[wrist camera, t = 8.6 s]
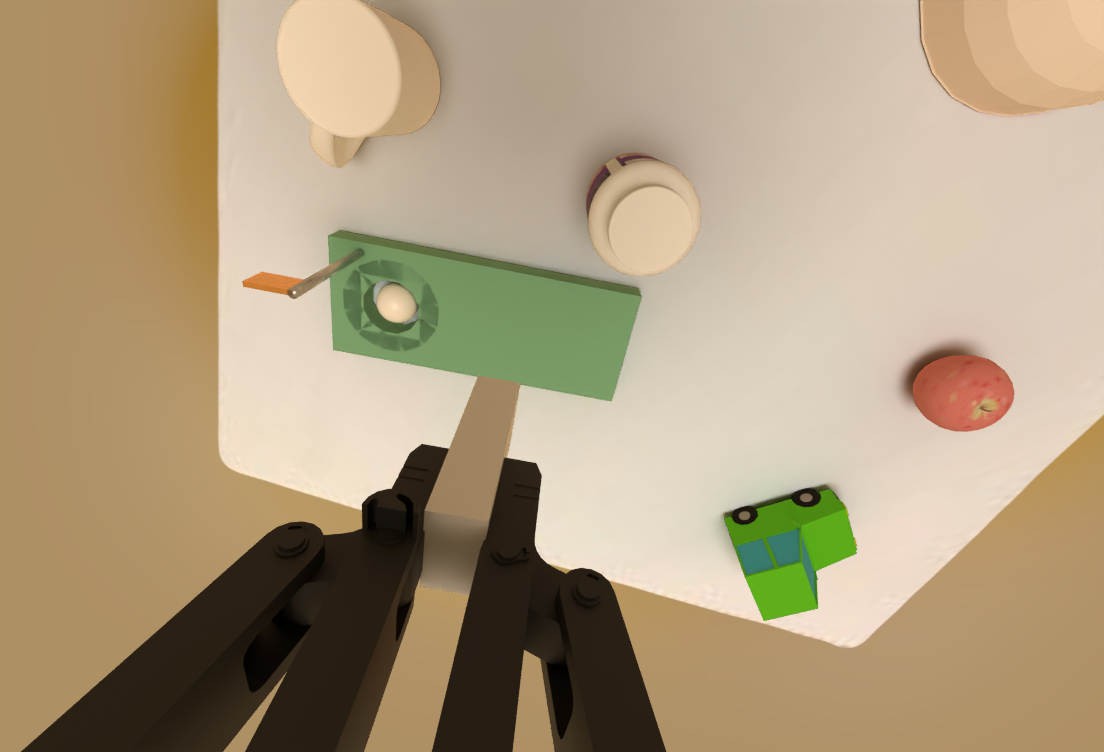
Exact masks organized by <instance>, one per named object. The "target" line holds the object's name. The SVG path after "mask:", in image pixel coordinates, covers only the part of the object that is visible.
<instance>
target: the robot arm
mask: <svg viewBox="0 0 1104 752" xmlns="http://www.w3.org/2000/svg"><path fill="white" fill-rule="evenodd" d="M519 388H520V383H518V382H512V381H507V380H501V379H496V378H490V377H485V376H479V375H478V378H477V380H476V383H475V386H474V388H473V391H472V393H471V396H470V398H469V401H468V403H467V406H466V408H465V411H464V413H463V416H462V418H461V421H460V423H459V426H458V428H457V431H456V433H455V436H454V438H453V441H452V443H451V446H450V448H449V449H447V448H442V447H436V446H430V445H425V444H421V445H420V446H419V447H417V448H416V449H415V450H414V451H412V452H411V453H410V454H409V456H408V458H407V460H406V462H405V464H404V467H403V468H402V470H401V472H400V474H399V476H398V478H397V479H396V481H395V483H394V485H393V487H392V489H386V490H382V491H378V492H376V493H374V494H372V495H371V496H369V497H368V498H367V499H366V500H365V501H364V502H363V503H362V529H359V530H357V531H354V532H350V533H344V534H333V535H323V533H322V531H321V529H320V528H318V527H317V526H315V525H314V524H312V523H307V522H291V523H287V524H285V525H282V526H279V527H277V528H275V529H274V530H272V531H271V532H269V533H268V534H266V535H265V536H264V537H263V538H262V539H261V540H260V541H259V542H257V543H256V544H255V545H254V546H253V547H252V548H251V549H249V550H248V552H246V553H245V554H244V555H243V556H242V557H240V558H239V559H238V560H237V561H236V562H235V563H234V564H233V565H231V566H230V567H229V568H228V569H227V570H226V571H225V572H224V573H222V574H221V575H220V576H219V577H218V578H217V579H216V580H214V581H213V582H212V583H211V584H210V585H209V586H208V587H207V588H206V589H204V590H203V591H202V592H201V593H200V594H199V595H198V596H196V597H195V598H194V599H193V600H192V601H191V602H190V603H188V604H187V605H186V606H185V607H184V608H183V609H182V610H181V611H179V613H177V614H176V615H175V616H174V617H173V618H172V619H171V620H169V621H168V622H167V623H166V624H165V625H164V626H163V627H162V628H160V629H159V630H158V631H157V632H156V633H155V634H153V635H152V636H151V637H150V638H149V639H148V640H147V641H146V642H144V643H143V644H142V645H141V646H140V647H139V648H138V649H137V650H135V651H134V652H133V653H132V654H131V655H130V656H129V657H127V658H126V659H125V660H124V661H123V662H122V663H121V664H120V665H119V666H117V667H116V668H115V669H114V670H113V671H112V672H111V673H109V674H108V675H107V676H106V677H105V678H104V679H103V680H102V681H100V682H99V683H98V684H97V685H96V686H95V687H94V688H92V689H91V690H90V691H89V692H88V693H87V694H86V695H85V696H83V697H82V698H81V699H80V700H79V701H78V702H77V703H76V704H74V705H73V706H72V707H71V708H70V709H69V710H68V711H67V712H65V713H64V714H63V715H62V716H61V717H60V718H59V719H57V721H55V722H54V723H53V724H52V725H51V726H50V727H48V728H47V729H46V730H45V731H44V732H43V733H42V734H41V735H39V736H38V737H37V738H36V739H35V740H34V741H33V742H31V743H30V744H29V745H28V746H27V747H26V748H25V749H24V750H22V751H21V752H223V751H224V750H225V748H226V747H227V746H228V745H229V743H230V742H231V741H232V740H233V738H234V737H235V736H236V735H237V733H238V732H239V731H240V730H241V728H242V727H243V726H244V724H245V723H246V722H247V721H248V720H249V718H250V717H251V716H252V714H253V713H254V712H255V711H256V710H257V708H258V707H259V706H260V704H261V703H262V702H263V701H264V700H265V698H266V697H267V696H268V695H269V693H270V692H271V691H272V690H273V688H274V687H275V686H276V685H277V683H278V682H279V681H280V680H281V678H282V677H283V676H284V674H285V673H286V672H287V673H286V675H285V677H284V679H283V681H282V683H281V685H280V687H279V688H278V690H277V692H276V694H275V696H274V698H273V700H272V702H271V704H270V705H269V707H268V709H267V711H266V713H265V715H264V717H263V719H262V721H261V723H260V724H259V726H258V728H257V730H256V732H255V734H254V736H253V738H252V740H251V742H250V743H249V745H248V747H247V749H246V751H245V752H364V750H365V747H366V744H367V741H368V738H369V735H370V732H371V730H372V727H373V724H374V721H375V718H376V715H377V712H378V709H379V706H380V703H381V700H382V697H383V694H384V691H385V688H386V685H387V682H388V679H389V677H390V674H391V671H392V668H393V665H394V662H395V659H396V656H397V653H398V650H399V647H400V644H401V641H402V638H403V635H404V633H405V630H406V627H407V624H408V621H409V618H410V615H411V612H412V609H413V605H414V604H413V603H414V594H415V590H416V587H417V584H418V581H419V579H420V587H425V588H431V589H437V590H443V591H449V592H455V593H461V594H467V595H469V599H468V603H467V607H466V611H465V615H464V619H463V624H462V628H461V632H460V636H459V640H458V645H457V649H456V653H455V657H454V662H453V666H452V670H451V674H450V678H449V682H448V687H447V691H446V695H445V699H444V703H443V707H442V712H441V716H440V720H439V724H438V728H437V733H436V737H435V741H434V745H433V749H432V752H512V751H513V750H512V749H513V742H514V732H515V724H516V715H517V706H518V697H519V688H520V679H521V671H522V661H523V653H524V650H526V651H528V652H529V653H531V654H533V655H535V656H537V657H539V658H540V659H541V666H542V672H543V679H544V685H545V692H546V698H547V705H548V711H549V717H550V724H551V730H552V737H553V743H554V750H555V752H666V750H665V746H664V743H663V741H662V737H661V734H660V731H659V728H658V725H657V722H656V719H655V716H654V712H653V709H652V706H651V703H650V700H649V697H648V694H647V691H646V688H645V685H644V682H643V678H642V676H641V672H640V669H639V666H638V663H637V660H636V657H635V654H634V651H633V648H632V644H631V641H630V638H629V635H628V632H627V629H626V626H625V623H624V620H623V617H622V614H621V611H620V607H619V604H618V601H617V598H616V595H615V592H614V590H613V588H612V586H611V584H610V582H609V581H608V580H607V579H606V578H605V577H604V576H603V575H602V574H600V573H598V572H596V571H594V570H592V569H585V568H578V569H574V570H571V571H569V572H568V573H567V574H565V573H564V572H562V571H559V570H557V569H555V568H554V567H552V566H550V565H549V564H547V563H546V562H545V561H544V560H543V559H542V558H541V557H540V555H539V554H538V552H537V550H536V547H535V530H536V521H537V512H538V503H539V494H540V486H541V477H542V475H541V473H540V471H539V468H538V466H537V464H536V463H532V462H527V461H521V460H515V459H510V458H507V455H508V451H509V446H510V441H511V435H512V429H513V424H514V418H515V412H516V406H517V400H518V394H519Z"/></svg>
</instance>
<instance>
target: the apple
mask: <svg viewBox="0 0 1104 752" xmlns="http://www.w3.org/2000/svg"><path fill="white" fill-rule="evenodd" d="M913 397H914V401H915V404H916V406H917V407H918V409H919V410H920V412H921V413H922V414H923V415H924V416H925V417H926V418H927V419H928V420H930V421H931V422H933V423H934V424H936V425H938V426H939V427H942V428H944V429H948V430H952V431H974V430H979V429H982V428H985V427H988V426H990V425H992V424H994V423H995V422H997V421H998V420H1000V419H1001V418H1002V417H1003V416H1004V415H1005V414H1006V413H1007V411H1008V410H1009V408H1010V407H1011V405H1012V402H1013V399H1014V389H1013V384H1012V382H1011V380H1010V378H1009V376H1008V375H1007V373H1006V372H1005V371H1004V370H1003V369H1002V368H1001V367H999V366H998V365H997V364H996V363H994V362H993V361H991V360H989V359H985V358H981V357H977V356H971V355H957V356H949V357H944V358H941V359H938V360H936V361H933V362H931V363H929V364H928V365H927V366H925V367H924V368H923V369H922V370H921V371H920V372H919V373H918V375H917V377H916V379H915V381H914V384H913Z"/></svg>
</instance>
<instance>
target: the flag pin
mask: <svg viewBox="0 0 1104 752" xmlns="http://www.w3.org/2000/svg"><path fill="white" fill-rule="evenodd" d="M364 254H365V253H364V250H363V249H361V248H358V249H357V250H355V251H353V252H351V253H350V254H348V255H346V256H344V257H343V258H341V259H339V260H338V261H336V262H334V263H332V264H331V265H329V266H327V267H325V268H324V269H322V270H320V271H319V272H317V273H315V274H313V275H312V276H310V277H308V278H307V279H305V280H302V279H297V278H292V277H286V276H281V275H276V274H271V273H265V272H261V273H259V274H257V275H254V276H252V277H250V278H248V279H246V280H244V281H242V282H243V287H248V288H254V289H259V290H264V291H269V292H275V293H280V294H285V295H289V296H290V297H291V298H293V299H296V298H298V297H299V296H301V295H302V294H304V293H306V292H307V291H309V290H310V289H312V288H313V287H315V286H317V285H318V284H320V283H321V282H323V281H325V280H326V279H328V278H329V277H331V276H333V275H334V274H336V273H337V272H339V271H341V270H342V269H344V268H345V267H347V266H348V265H350V264H352V263H353V262H355V261H356V260H358V259H360V258H361V257H363V256H364Z"/></svg>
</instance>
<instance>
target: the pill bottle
mask: <svg viewBox="0 0 1104 752" xmlns="http://www.w3.org/2000/svg"><path fill="white" fill-rule="evenodd" d="M586 209H587V217H588V228H589V235H590V239H591V242H592V244H593V247H594V249H595V250H596V252H597V254H598V255H599V256H600V257H601V258H602V260H603V261H604V262H605V263H606V264H608V265H609V266H610V267H611V268H613V269H615V270H616V271H619V272H621V273H624V274H627V275H631V276H650V275H654V274H658V273H661V272H663V271H665V270H667V269H669V268H671V267H672V266H674V265H675V264H676V263H678V262H679V261H680V260H681V259H682V258H683V257H684V256H685V255H686V254H687V252H688V251H689V250H690V248H691V247H692V245H693V243H694V241H695V239H696V237H697V234H698V231H699V227H700V220H701V208H700V202H699V198H698V195H697V193H696V191H695V189H694V187H693V185H692V184H691V182H690V181H689V180H688V178H687V177H686V176H685V175H684V174H683V173H681V172H680V171H679V170H677V169H676V168H674V167H673V166H671V165H668V164H666V163H664V162H661V161H659V160H657V159H655V158H653V157H651V156H648V155H645V154H639V153H630V154H624V155H620V156H618V157H615V158H613V159H612V160H610V161H608V162H607V163H606V164H604V165H603V166H602V167H601V168H600V169H599V171H598V172H597V173H596V174H595V176H594V178H593V179H592V181H591V184H590V186H589V189H588V193H587V199H586Z"/></svg>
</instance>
